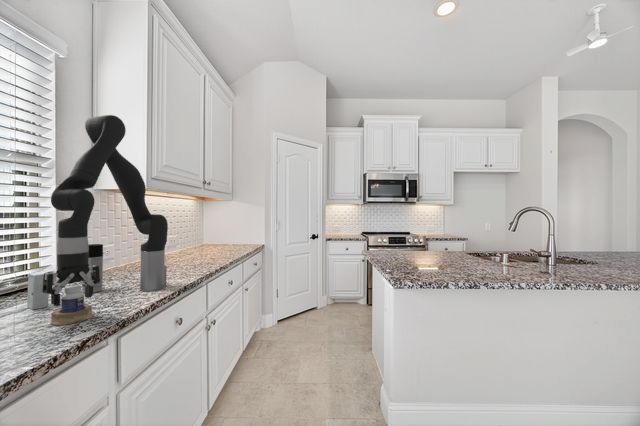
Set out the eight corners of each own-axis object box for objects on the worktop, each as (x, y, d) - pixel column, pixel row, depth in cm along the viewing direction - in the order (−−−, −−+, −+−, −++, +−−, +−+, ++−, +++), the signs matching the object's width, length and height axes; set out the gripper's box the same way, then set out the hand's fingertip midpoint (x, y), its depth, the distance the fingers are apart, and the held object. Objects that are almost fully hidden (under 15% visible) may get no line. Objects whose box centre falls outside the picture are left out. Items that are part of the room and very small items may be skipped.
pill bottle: (80, 318, 88) (81, 288, 87) (58, 321, 85) (58, 290, 85) (86, 312, 92) (86, 283, 92) (64, 315, 90) (65, 285, 90)
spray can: (85, 290, 119) (85, 244, 119) (104, 288, 122) (105, 243, 122) (79, 294, 113) (80, 246, 113) (100, 292, 116) (100, 245, 116)
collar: (80, 311, 95) (80, 302, 95) (99, 315, 91) (99, 306, 91) (43, 322, 86) (43, 312, 86) (62, 327, 82) (62, 317, 82)
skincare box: (26, 306, 99) (26, 273, 98) (43, 303, 102) (43, 270, 102) (32, 310, 96) (32, 275, 95) (49, 306, 99) (50, 272, 99)
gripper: (90, 247, 96) (90, 293, 97) (37, 253, 83) (37, 307, 83) (104, 249, 94) (104, 296, 94) (52, 255, 80) (51, 310, 81)
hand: (73, 301), depth 89 cm, fingers open, 8 cm apart
